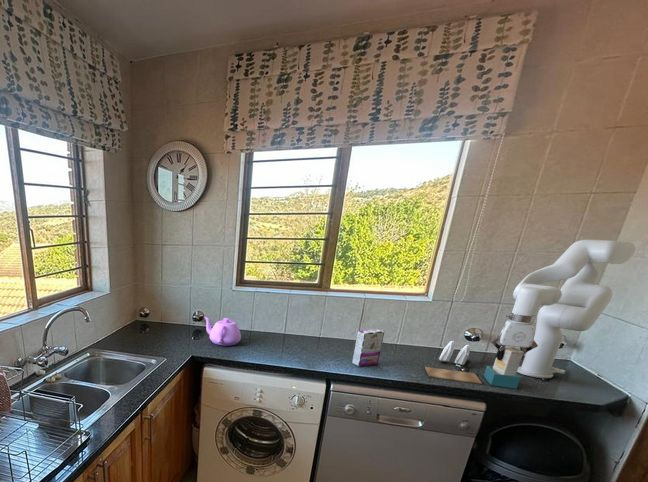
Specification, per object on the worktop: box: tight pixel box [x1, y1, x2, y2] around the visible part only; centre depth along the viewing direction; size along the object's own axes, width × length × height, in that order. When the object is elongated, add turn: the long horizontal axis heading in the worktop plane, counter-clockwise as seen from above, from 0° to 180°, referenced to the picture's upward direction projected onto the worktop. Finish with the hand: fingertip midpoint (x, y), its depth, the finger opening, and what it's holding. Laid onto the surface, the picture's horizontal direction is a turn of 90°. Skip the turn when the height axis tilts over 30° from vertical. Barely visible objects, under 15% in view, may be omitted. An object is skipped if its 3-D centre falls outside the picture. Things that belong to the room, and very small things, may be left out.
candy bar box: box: [351, 328, 385, 367], centre depth 190 cm, size 11×5×16 cm, turn 105°
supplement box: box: [492, 346, 524, 376], centre depth 169 cm, size 8×5×13 cm, turn 167°
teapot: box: [203, 316, 242, 347], centre depth 222 cm, size 22×22×14 cm
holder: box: [483, 365, 521, 389], centre depth 171 cm, size 9×12×5 cm
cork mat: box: [424, 366, 483, 385], centre depth 179 cm, size 19×13×1 cm
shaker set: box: [438, 340, 471, 366], centre depth 193 cm, size 12×4×11 cm, turn 74°
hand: (508, 360), depth 169 cm, fingers closed on supplement box, 5 cm apart
